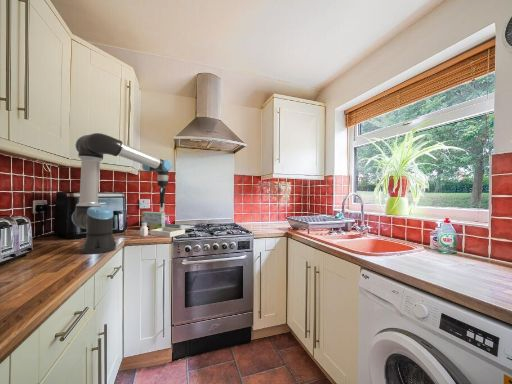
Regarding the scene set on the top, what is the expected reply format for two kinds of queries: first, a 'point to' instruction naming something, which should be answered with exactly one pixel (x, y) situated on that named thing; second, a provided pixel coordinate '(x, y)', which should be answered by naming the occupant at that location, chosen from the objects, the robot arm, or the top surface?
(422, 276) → the top surface
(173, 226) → the mailer lid
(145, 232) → the pepper shaker
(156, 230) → the mailer box
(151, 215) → the snack box
